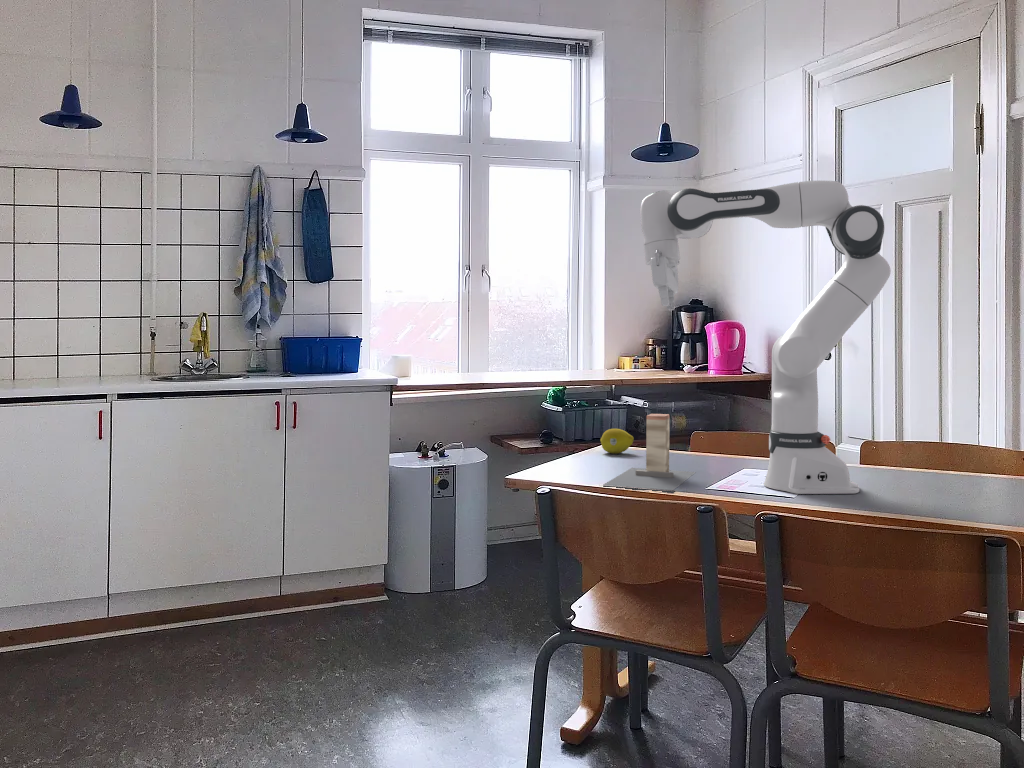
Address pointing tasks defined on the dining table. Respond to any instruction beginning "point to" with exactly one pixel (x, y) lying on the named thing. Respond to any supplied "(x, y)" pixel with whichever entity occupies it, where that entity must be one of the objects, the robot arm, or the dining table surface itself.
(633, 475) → the mat
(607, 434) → the lemon
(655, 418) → the birch block
